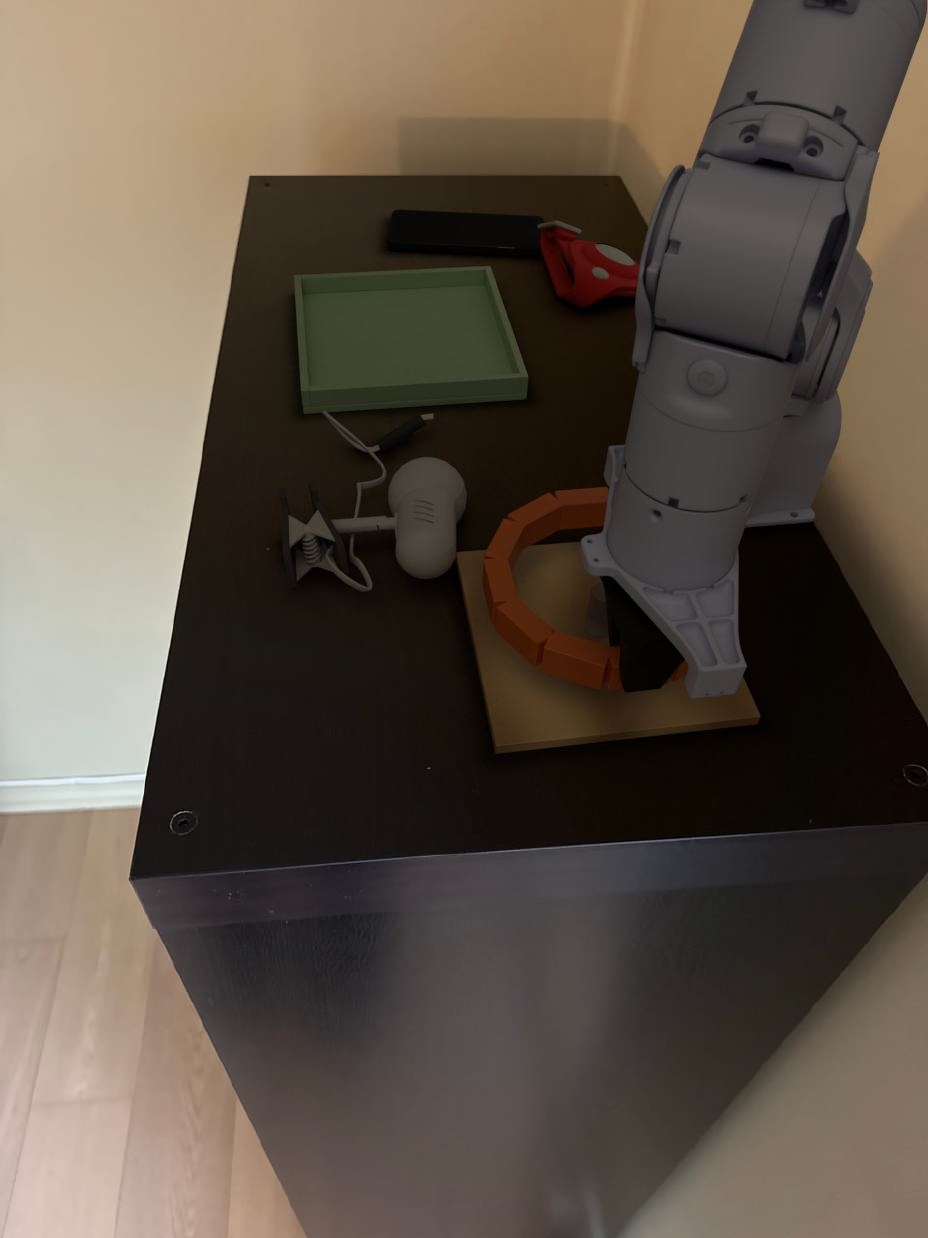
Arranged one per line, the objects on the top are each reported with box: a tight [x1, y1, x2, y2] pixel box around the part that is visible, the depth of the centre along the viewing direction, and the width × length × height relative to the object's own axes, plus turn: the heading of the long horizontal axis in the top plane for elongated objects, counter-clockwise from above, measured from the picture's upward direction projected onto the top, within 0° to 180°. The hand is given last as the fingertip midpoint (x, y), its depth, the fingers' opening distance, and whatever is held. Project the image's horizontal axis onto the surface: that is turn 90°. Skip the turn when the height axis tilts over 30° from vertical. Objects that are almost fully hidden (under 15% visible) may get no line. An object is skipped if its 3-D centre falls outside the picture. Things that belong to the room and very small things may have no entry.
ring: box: [482, 486, 688, 691], centre depth 52 cm, size 14×14×2 cm
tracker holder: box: [537, 220, 640, 309], centre depth 83 cm, size 12×4×10 cm
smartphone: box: [385, 209, 545, 257], centre depth 89 cm, size 7×1×15 cm
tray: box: [293, 265, 529, 415], centre depth 76 cm, size 17×17×2 cm
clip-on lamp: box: [278, 411, 468, 593], centre depth 60 cm, size 12×6×18 cm
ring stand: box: [454, 541, 762, 755], centre depth 54 cm, size 15×15×4 cm
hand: (636, 670), depth 49 cm, fingers closed on ring, 1 cm apart
